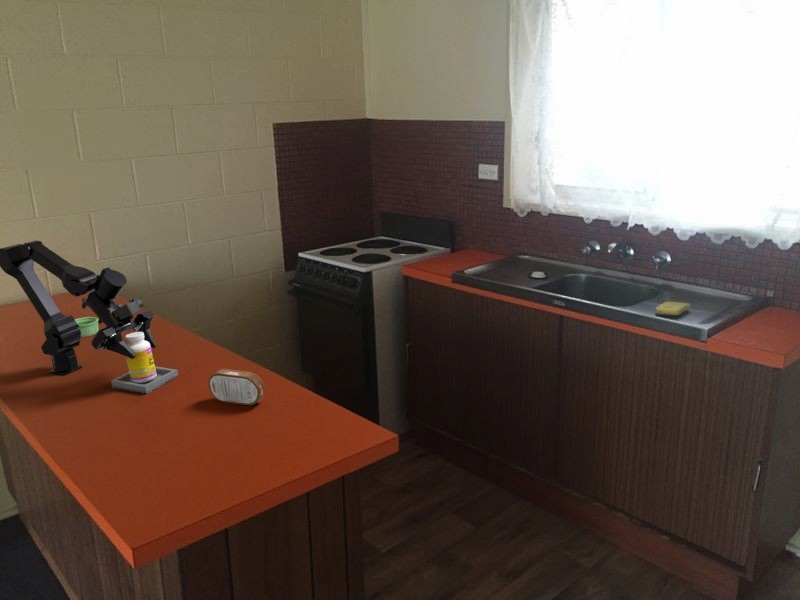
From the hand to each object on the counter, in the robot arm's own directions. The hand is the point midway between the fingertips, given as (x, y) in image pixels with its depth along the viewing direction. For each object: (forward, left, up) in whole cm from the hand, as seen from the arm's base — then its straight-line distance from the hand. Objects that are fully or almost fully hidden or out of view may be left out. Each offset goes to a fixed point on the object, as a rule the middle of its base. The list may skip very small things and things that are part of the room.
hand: (144, 352), depth 182 cm
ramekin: (-51, +25, -9) cm, 58 cm away
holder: (-1, 0, -9) cm, 9 cm away
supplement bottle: (-2, 0, -8) cm, 8 cm away
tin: (+31, -2, -9) cm, 32 cm away
